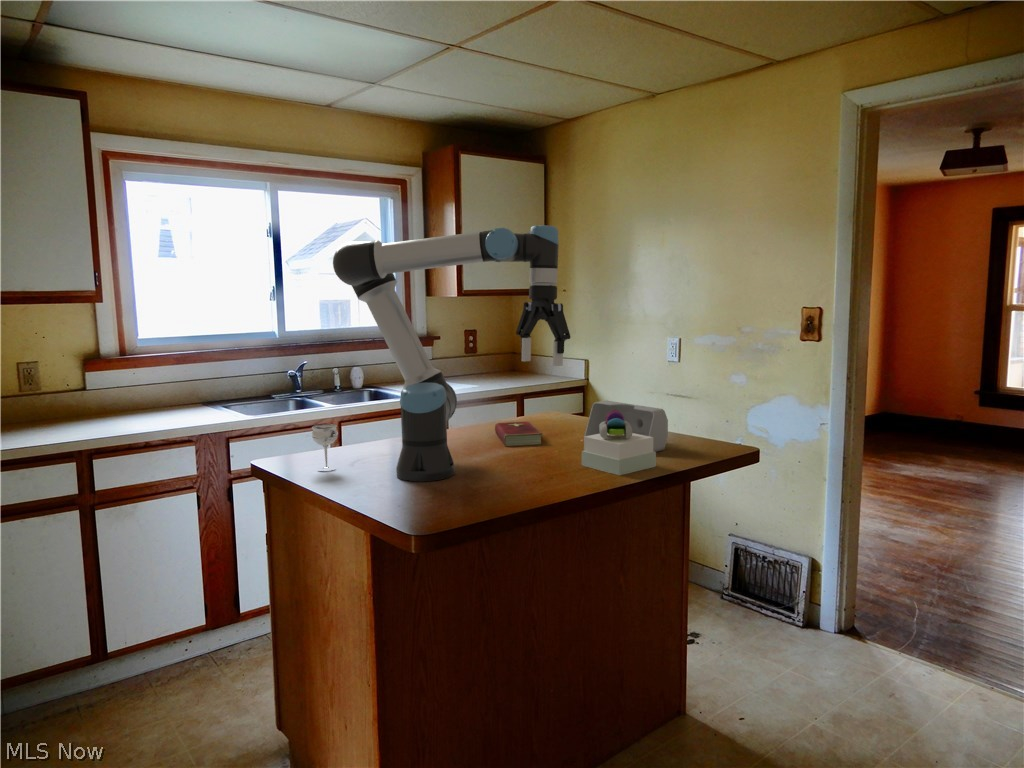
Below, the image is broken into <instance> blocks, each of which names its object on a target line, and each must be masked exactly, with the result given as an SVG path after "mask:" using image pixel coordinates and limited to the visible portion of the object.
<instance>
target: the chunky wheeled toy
mask: <svg viewBox="0 0 1024 768" xmlns="http://www.w3.org/2000/svg"><path fill="white" fill-rule="evenodd" d="M606 419H607V422H606V421H604V422H602V423H601V424H600V425H599V431H600V436H601V437H602V438H604V439H607V433H608V434H610V435H623V434H624V436H625V439H629V438H630V437H631V436H632V427H631V425H630V423H629V422H627V421H624V416H623V415H622V413H621V412H619V411H617V410H613V411H611V412H609V413H608V415H607V417H606Z"/></svg>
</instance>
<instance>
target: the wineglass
mask: <svg viewBox="0 0 1024 768" xmlns="http://www.w3.org/2000/svg"><path fill="white" fill-rule="evenodd" d="M337 427H338V424H333V423H330V424H329V423H327V424H326V423H325V424H324V423H323V424H318V425H317V424H315V425H313V426H311V429H312V433H311V437H312V439H313V441H314V442H315V443H316V444H317V445H320V446H322V447H323V450H324V458H325V459H324V460H325V466H324V467H323V468H329V467H330V466H328V448H329V445H331V444H334V442H335V441H336V440H337V439H338V435H339V432H338V429H337Z"/></svg>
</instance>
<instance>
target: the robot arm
mask: <svg viewBox="0 0 1024 768" xmlns="http://www.w3.org/2000/svg"><path fill="white" fill-rule="evenodd" d="M559 247H560V246H559V230H558V228H557V227H556V226H555V225H554V226H553V225H546V224H545V225H533V226H531V227H530V231H529V232H527V233H516V232H515V233H514V232H513V231H512V230H510V229H509V228H506V227H497V228H496V227H494V229H491V230H483V231H475V232H467V233H459V234H451V235H443V236H433V237H427V238H419V239H411V240H409V239H408V240H402V241H394V242H387V243H385V242H384V243H383V242H382V241H380V240H379V239H376V240H367V241H365V240H364V241H358V240H356V241H355V240H354V241H353V240H352V241H347V242H345V243H343V244H341V245H340V246H339V247H338V248H337V249H336V251H335V252H334V255H333V258H332V266H333V267H332V268H333V271H334V273H335V275H336V277H338V280H340V281H342V282H343V283H344V284H346V285H348V286H351V288H352V289H353V292H354V294H355V295H356V297H357V299H358V300H359V301H362V302H364V303H366V305H367V307H368V309H369V311H370V313H371V315H372V317H373V319H374V321H375V323H376V325H377V327H378V329H379V331H380V333H381V335H382V337H383V339H384V342H385V343H386V345H387V347H388V350H389V352H391V353H390V354H391V355H392V357H393V359H394V361H395V363H396V365H397V367H398V370H399V371H400V374H401V376H402V377H403V379H404V384H403V387H402V389H401V392H400V399H399V405H400V419H401V420H400V421H401V422H400V423H401V442H402V445H401V446H402V447H401V450H400V454H399V456H398V461H397V465H396V468H395V469H396V477H397V478H398V479H401V480H404V481H407V480H409V481H410V482H433V481H434V482H435V481H440V480H445V479H447V478H450V477H451V478H452V476H454V474H455V473H456V472H455V469H456V468H455V462H454V460H453V457H452V453H451V451H450V449H449V445H448V430H447V429H448V426H447V422H448V421H449V420H450V419H451V418H452V417H453V415H454V414H455V412H456V409H457V405H458V398H457V394H456V391H455V389H454V388H453V387H452V386H451V385H450V384H449V383H447V381H446V378H445V377H444V376H445V375H444V374H443V372H442V370H441V369H439V368H438V369H437V368H435V367H434V366H433V365H432V362H431V361H430V358H429V357H428V355H427V354H428V353H427V352H426V350H425V348H424V346H423V345H422V342H421V341H420V338H419V336H418V333H417V332H416V330H415V328H414V326H413V324H412V322H411V320H410V317H409V316H408V313H407V311H406V310H405V307H404V306H403V303H402V301H401V299H400V298H399V295H398V293H397V291H396V286H397V283H398V281H397V279H396V277H395V274H396V273H405V272H412V271H419V270H420V271H421V270H427V269H435V268H438V269H439V268H444V267H452V266H453V267H454V266H460V265H467V264H468V265H469V264H477V263H484V262H495V263H501V262H503V263H515V262H516V263H518V262H519V263H520V262H521V263H523V262H524V263H529V277H528V278H529V280H528V282H529V284H531V285H530V286H529V288H528V289H529V290H528V297H529V299H530V300H531V301H529V302H526V301H525V302H524V303H523V308H522V313H521V315H520V319H519V322H518V324H517V328H516V331H515V334H516V335H517V336H519V337H520V349H521V359H520V360H521V362H531V360H532V359H531V357H532V336H531V334H532V332H533V331H534V328H535V326H536V325H537V323H538V321H540V320H543V321H545V322H546V323H547V325H548V327H549V329H550V331H551V333H552V335H553V337H554V341H553V346H552V347H553V350H552V351H553V353H552V366H553V367H562V366H563V365H564V362H563V360H564V359H563V358H564V353H565V341H566V340H570V339H571V334H570V330H569V326H568V323H567V319H566V317H565V314H564V304H563V303H560V302H559V303H557V302H555V301H556V300H557V299H558V287H557V284H558V268H559V267H558V265H559ZM409 481H408V482H409Z"/></svg>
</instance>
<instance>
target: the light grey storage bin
mask: <svg viewBox="0 0 1024 768" xmlns="http://www.w3.org/2000/svg"><path fill="white" fill-rule="evenodd" d="M613 410H617V411H619V412H621V413H622V415H623V416H624V421H627V422H629V423H630V425H631V427H632V433H634V434H639V435H644V436H649V437H653V451H654V452H656V453H657V452H661V451H663V450H665V449H666V445H667V440H668V433H669V420H668V416H667V413H666V412H665V410H664V408H659V407H652V406H645V405H639V404H633V403H632V404H631V403H626V402H618V401H613V400H612V401H611V400H601V401H595V402H594V403H592V406H591V410H590V413H589V418H588V421H587V423H586V429H585V433H584V436H583V438H584V437H585V436H590V435H595V434H600V431H599V425H600V424H601V423H602V422H604V421H606V422H607V419H606V417H607V415H608V413H609V412H611V411H613Z"/></svg>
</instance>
